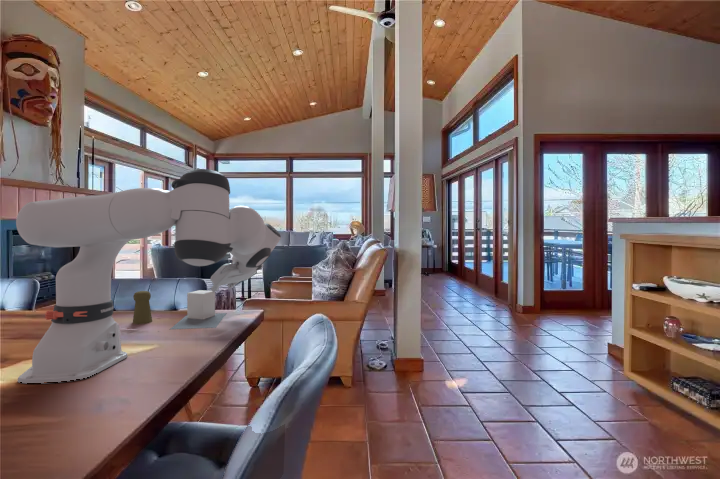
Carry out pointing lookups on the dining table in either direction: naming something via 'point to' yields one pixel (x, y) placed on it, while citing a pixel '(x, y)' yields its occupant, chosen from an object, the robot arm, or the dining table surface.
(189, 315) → the cover
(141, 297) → the cork
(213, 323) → the mat
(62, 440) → the dining table surface
